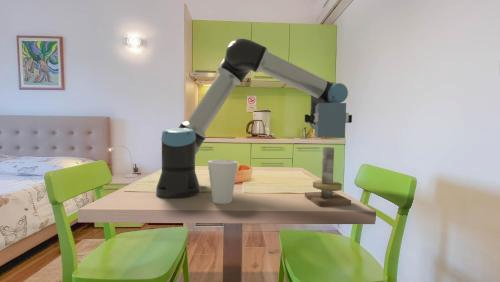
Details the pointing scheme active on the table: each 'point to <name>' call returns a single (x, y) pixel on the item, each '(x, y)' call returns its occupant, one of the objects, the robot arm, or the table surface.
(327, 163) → the post stand
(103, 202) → the table surface
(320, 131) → the sleeve
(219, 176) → the foam cup
